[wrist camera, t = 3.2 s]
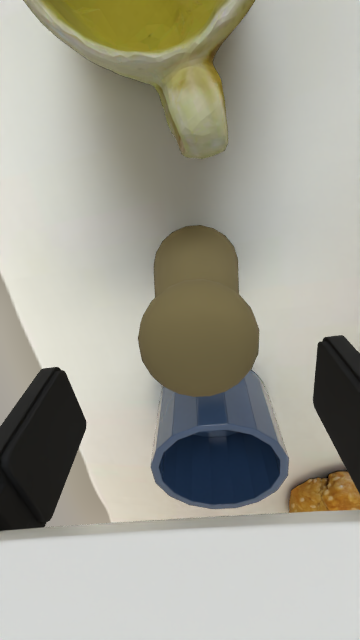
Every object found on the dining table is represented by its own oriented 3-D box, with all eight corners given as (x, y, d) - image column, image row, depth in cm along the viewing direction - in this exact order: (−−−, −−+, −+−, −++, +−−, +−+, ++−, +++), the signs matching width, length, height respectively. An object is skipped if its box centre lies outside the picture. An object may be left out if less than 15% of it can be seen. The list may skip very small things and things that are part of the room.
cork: (153, 303, 22) (124, 413, 13) (154, 222, 19) (117, 285, 10) (231, 308, 22) (261, 423, 13) (244, 228, 19) (297, 297, 10)
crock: (151, 364, 25) (138, 430, 19) (266, 352, 24) (291, 419, 18) (170, 439, 30) (164, 511, 24) (266, 432, 29) (286, 506, 23)
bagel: (398, 476, 31) (430, 524, 27) (339, 524, 37) (357, 571, 32) (318, 454, 30) (338, 501, 26) (268, 507, 35) (278, 554, 31)
